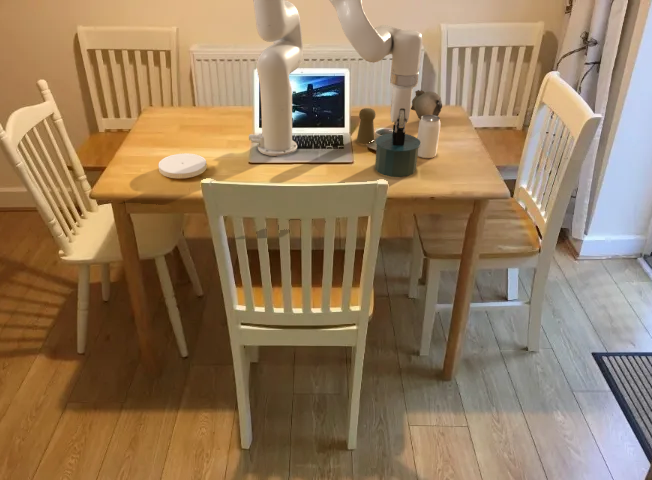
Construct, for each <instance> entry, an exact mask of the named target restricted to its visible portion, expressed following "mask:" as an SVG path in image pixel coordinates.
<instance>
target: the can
mask: <svg viewBox="0 0 652 480" xmlns="http://www.w3.org/2000/svg"><path fill="white" fill-rule="evenodd" d="M440 120H441V118H440V116H439V115H438V116H436V115H423V116H422V117H421V120H420V119H419V121H418V129H417V136H416V138H417V139H419V140H420V142H421V145H420V147H419V148H418V155H417V158H421V159H433V158H435V157H436V156H437V152H438V145H439V139H440V132H441V131H440V130H441V121H440Z"/></svg>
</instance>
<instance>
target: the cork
mask: <svg viewBox="0 0 652 480" xmlns="http://www.w3.org/2000/svg"><path fill="white" fill-rule="evenodd" d="M358 117H359V120H360V121H359V125H358V130H357V136H356V142H357V143H359V144H362V145H372V144H373V143H376V140H375V126H374V125H375V123H374V120H375V118H376V111H375V109H373V108H371V107H370V108H369V107H365V108H364V107H363V108H362V109H360V110H359V113H358ZM372 140H375V141H373V142H371V141H372ZM369 142H370V143H369Z"/></svg>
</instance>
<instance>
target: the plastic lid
mask: <svg viewBox="0 0 652 480" xmlns="http://www.w3.org/2000/svg"><path fill="white" fill-rule="evenodd" d="M207 165H208V164H207V160H206V158H205V157H203V156H201V155H199V154H195V153H189V152H186V153H185V152H184V153H175V154H171V155H168V156H166V157H164V158H162V159H160V160H159V162H158V165H157V167H158V172H159V173H160V174H161V175H162V176H164V177H167V178H170V179H189V178H193V177H197V176H200V175H201V174H203V173H204V172H205V171H206V170H207V167H208V166H207Z"/></svg>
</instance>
